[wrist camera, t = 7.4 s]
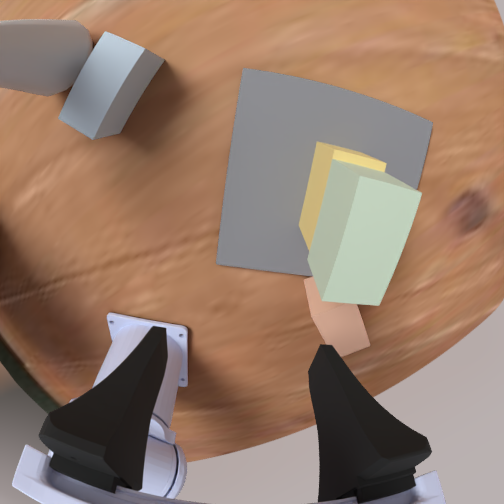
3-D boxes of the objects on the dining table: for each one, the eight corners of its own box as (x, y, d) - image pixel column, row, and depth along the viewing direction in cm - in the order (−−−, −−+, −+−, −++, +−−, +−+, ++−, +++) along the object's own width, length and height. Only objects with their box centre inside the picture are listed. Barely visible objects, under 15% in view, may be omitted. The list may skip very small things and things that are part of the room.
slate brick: (120, 133, 17) (93, 139, 13) (89, 114, 16) (58, 118, 13) (165, 60, 15) (145, 48, 11) (130, 43, 14) (105, 31, 10)
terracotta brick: (358, 311, 24) (370, 345, 21) (326, 324, 25) (334, 359, 22) (341, 264, 21) (355, 299, 18) (303, 280, 22) (311, 316, 19)
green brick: (355, 265, 17) (379, 305, 13) (307, 259, 16) (321, 301, 13) (384, 172, 14) (422, 193, 10) (332, 158, 14) (360, 175, 10)
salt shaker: (105, 16, 12) (-19, -33, 1) (105, 83, 15) (-44, 83, 4) (46, 42, 12) (-79, 36, 1) (46, 104, 15) (-89, 134, 4)
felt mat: (380, 280, 23) (382, 284, 22) (216, 260, 22) (215, 264, 21) (429, 121, 16) (433, 122, 16) (243, 69, 15) (243, 68, 15)
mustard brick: (340, 231, 20) (358, 258, 16) (298, 225, 20) (309, 251, 16) (360, 152, 17) (386, 163, 14) (316, 141, 17) (334, 149, 13)
